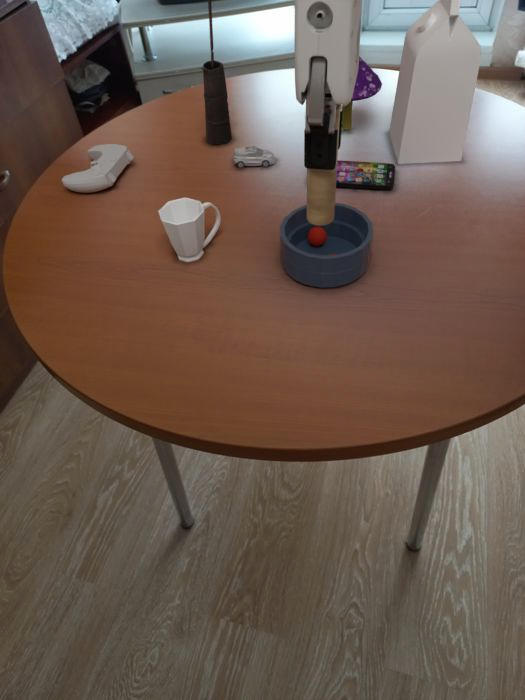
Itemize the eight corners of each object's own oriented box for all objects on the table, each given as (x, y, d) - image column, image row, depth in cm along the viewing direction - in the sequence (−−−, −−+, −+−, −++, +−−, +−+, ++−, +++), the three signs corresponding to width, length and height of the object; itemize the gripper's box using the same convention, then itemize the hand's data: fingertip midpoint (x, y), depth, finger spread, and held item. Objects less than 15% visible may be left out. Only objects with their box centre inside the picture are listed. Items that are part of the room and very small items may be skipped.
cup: (160, 253, 83) (148, 210, 77) (209, 226, 87) (202, 183, 81) (185, 274, 79) (174, 230, 73) (235, 244, 83) (229, 201, 77)
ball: (322, 236, 82) (323, 220, 80) (329, 247, 80) (330, 231, 78) (304, 241, 82) (304, 225, 80) (311, 252, 80) (311, 236, 78)
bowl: (348, 226, 84) (350, 194, 80) (384, 277, 76) (389, 244, 71) (270, 245, 83) (268, 213, 78) (298, 299, 74) (297, 267, 70)
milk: (461, 161, 95) (501, -4, 76) (398, 164, 96) (421, 2, 76) (447, 129, 103) (480, -27, 83) (389, 132, 104) (408, -22, 84)
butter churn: (211, 158, 101) (186, -9, 80) (185, 141, 107) (155, -20, 85) (248, 142, 105) (234, -23, 84) (221, 126, 110) (201, -33, 89)
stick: (327, 207, 61) (332, 95, 51) (338, 222, 59) (345, 108, 49) (302, 213, 61) (302, 101, 51) (312, 228, 59) (314, 115, 49)
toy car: (275, 167, 98) (274, 152, 96) (233, 168, 98) (231, 154, 96) (275, 157, 100) (275, 142, 98) (234, 158, 101) (233, 144, 99)
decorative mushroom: (376, 115, 109) (384, 36, 98) (378, 145, 101) (387, 63, 89) (316, 116, 110) (318, 38, 99) (314, 145, 102) (315, 64, 91)
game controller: (89, 140, 103) (132, 133, 99) (100, 161, 106) (141, 154, 102) (53, 179, 94) (98, 173, 90) (66, 200, 97) (110, 195, 93)
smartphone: (393, 187, 89) (307, 181, 92) (392, 191, 90) (307, 186, 93) (395, 163, 94) (314, 158, 97) (395, 168, 95) (314, 163, 98)
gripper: (369, -30, 35) (350, 205, 49) (385, -85, 45) (365, 122, 59) (260, -29, 36) (272, 199, 50) (300, -83, 46) (300, 119, 60)
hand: (322, 156), depth 54 cm, fingers closed on stick, 3 cm apart
